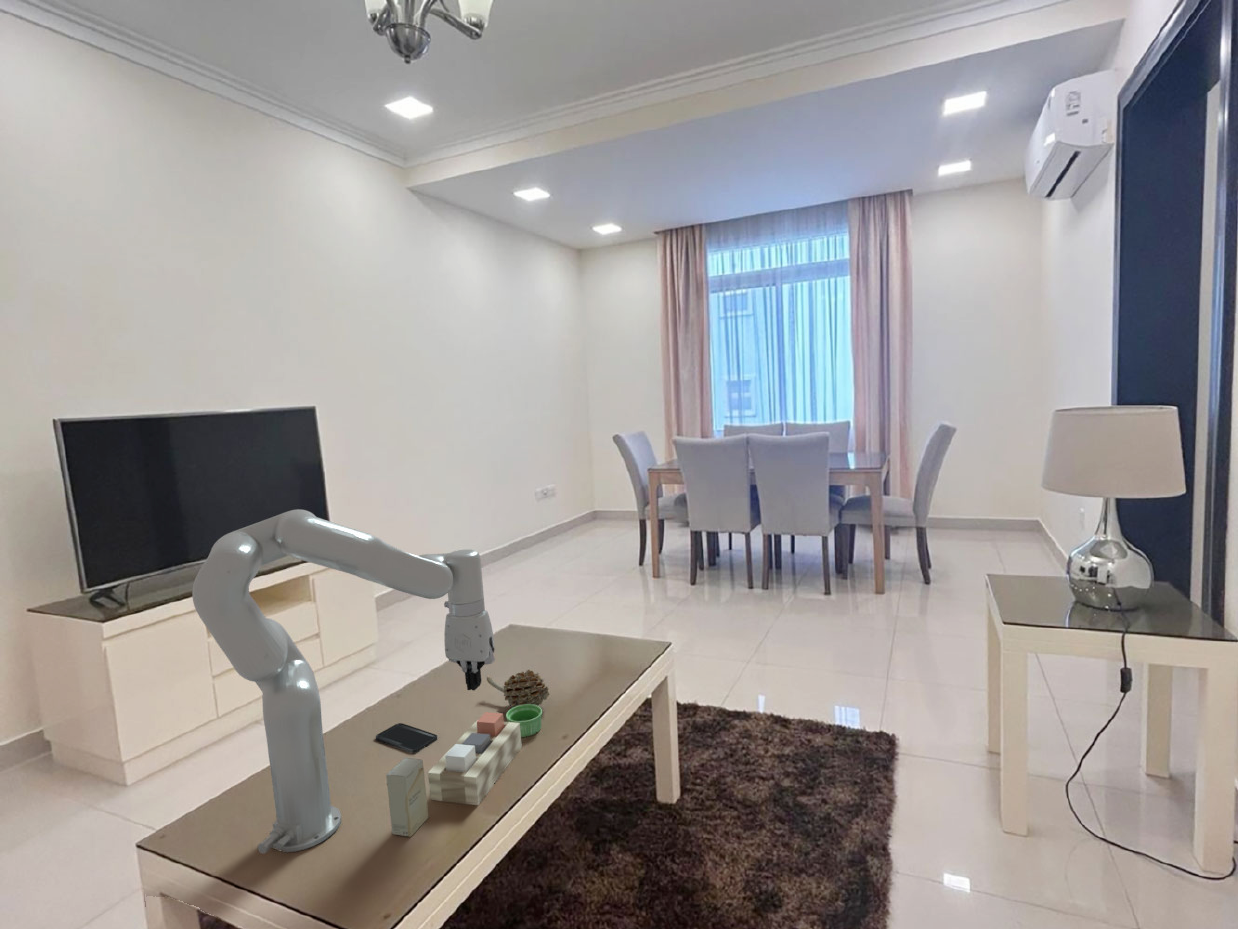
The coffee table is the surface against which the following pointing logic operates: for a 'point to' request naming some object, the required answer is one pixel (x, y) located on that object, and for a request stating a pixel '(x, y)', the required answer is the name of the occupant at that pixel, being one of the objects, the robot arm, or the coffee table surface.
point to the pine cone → (523, 688)
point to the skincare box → (407, 796)
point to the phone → (406, 738)
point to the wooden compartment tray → (475, 768)
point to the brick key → (490, 724)
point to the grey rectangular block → (478, 742)
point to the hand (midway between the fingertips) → (474, 687)
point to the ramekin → (526, 718)
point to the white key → (460, 758)
